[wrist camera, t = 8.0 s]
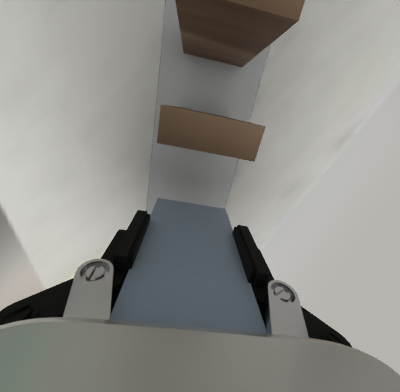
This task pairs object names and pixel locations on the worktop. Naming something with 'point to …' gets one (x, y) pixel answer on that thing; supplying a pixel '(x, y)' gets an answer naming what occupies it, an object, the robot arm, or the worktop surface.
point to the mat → (204, 102)
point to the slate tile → (189, 273)
